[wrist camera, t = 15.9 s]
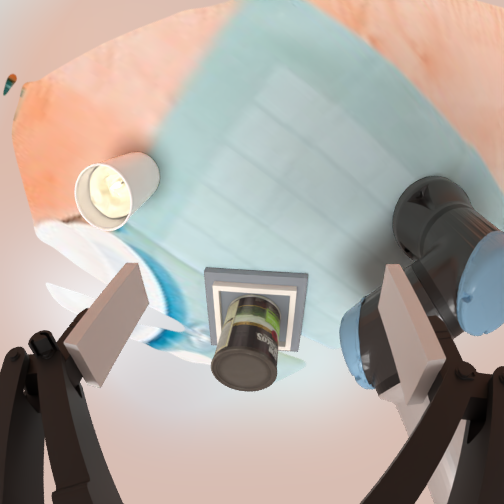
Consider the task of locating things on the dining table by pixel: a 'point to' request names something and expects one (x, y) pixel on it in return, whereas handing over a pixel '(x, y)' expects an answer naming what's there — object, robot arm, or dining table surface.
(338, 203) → the dining table surface
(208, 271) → the grey square tray
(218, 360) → the coffee can
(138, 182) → the candle holder
